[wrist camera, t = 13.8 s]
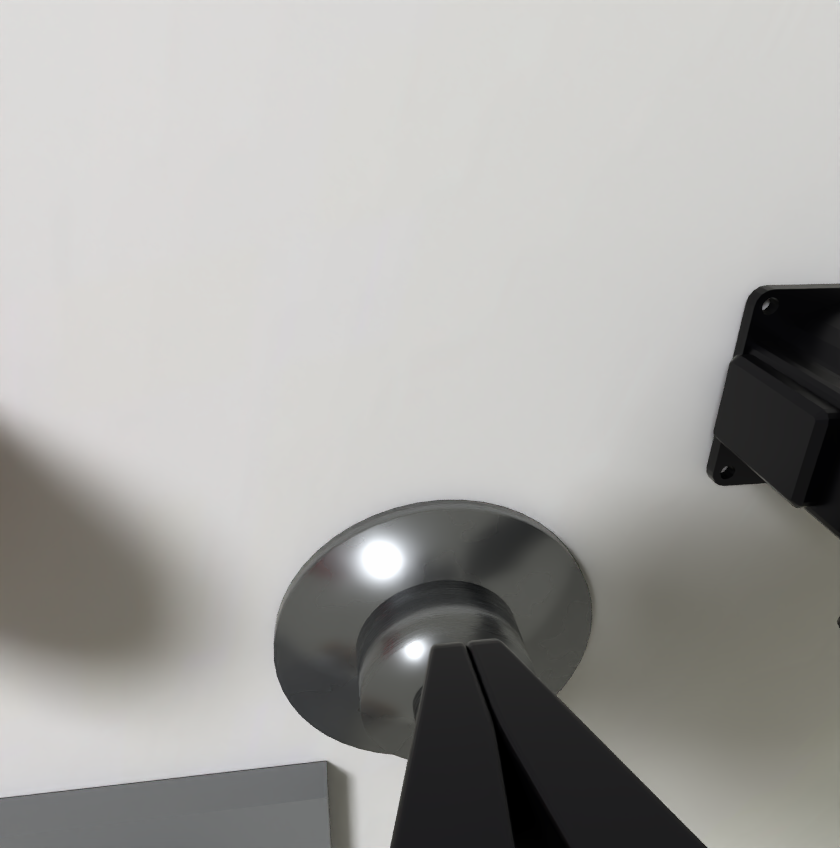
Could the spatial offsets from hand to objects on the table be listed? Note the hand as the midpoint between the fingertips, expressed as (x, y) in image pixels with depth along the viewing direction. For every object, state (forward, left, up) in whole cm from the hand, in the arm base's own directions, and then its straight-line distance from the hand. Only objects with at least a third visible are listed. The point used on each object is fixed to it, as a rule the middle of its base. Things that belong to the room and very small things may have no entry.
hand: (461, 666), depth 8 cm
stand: (-2, +11, -12) cm, 16 cm away
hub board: (+10, +23, -12) cm, 28 cm away
